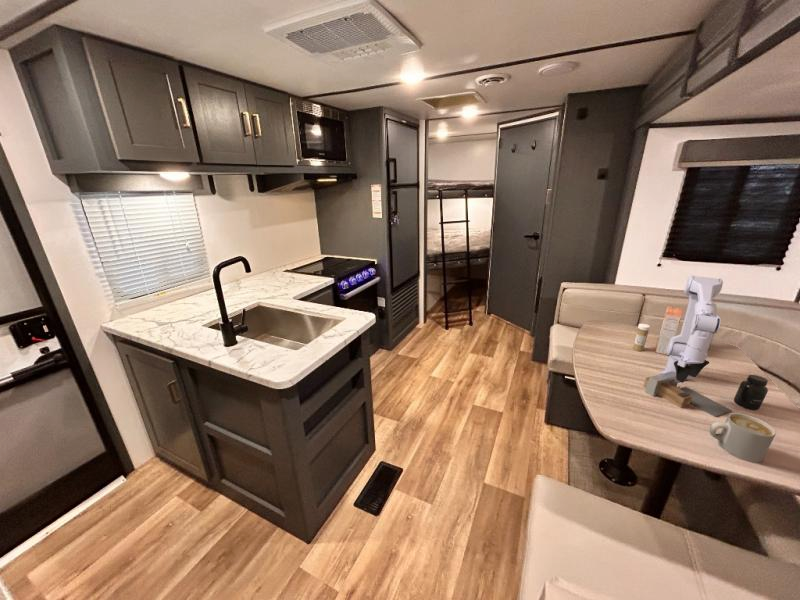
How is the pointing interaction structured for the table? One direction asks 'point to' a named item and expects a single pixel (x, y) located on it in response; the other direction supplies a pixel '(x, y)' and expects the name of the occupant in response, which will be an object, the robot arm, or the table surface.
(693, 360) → the robot arm
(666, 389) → the wooden block
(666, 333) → the cracker box
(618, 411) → the table surface
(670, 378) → the housing
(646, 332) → the sprinkles bottle
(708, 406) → the pad
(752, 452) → the coffee mug
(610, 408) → the table surface
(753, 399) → the supplement bottle
